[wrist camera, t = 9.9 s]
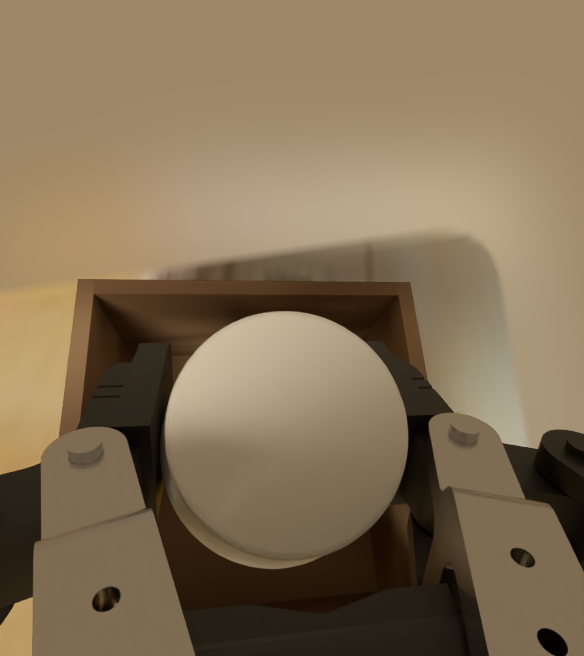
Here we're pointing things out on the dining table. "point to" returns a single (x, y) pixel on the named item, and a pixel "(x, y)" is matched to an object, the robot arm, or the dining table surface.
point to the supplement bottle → (282, 440)
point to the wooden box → (185, 338)
